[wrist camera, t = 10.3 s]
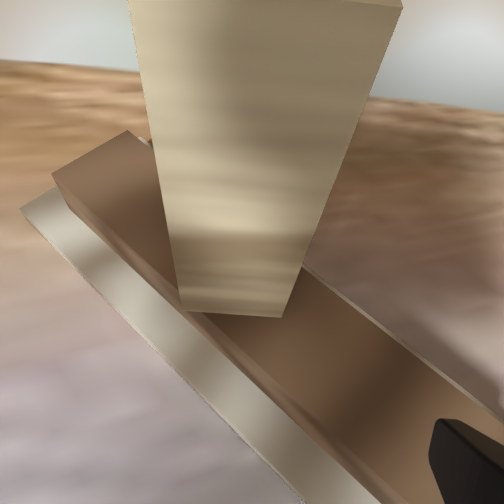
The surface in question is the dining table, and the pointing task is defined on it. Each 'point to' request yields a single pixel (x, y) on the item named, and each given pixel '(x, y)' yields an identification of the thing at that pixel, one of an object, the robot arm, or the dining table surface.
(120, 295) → the ridge stand
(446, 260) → the dining table surface
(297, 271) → the ash post
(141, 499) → the dining table surface
